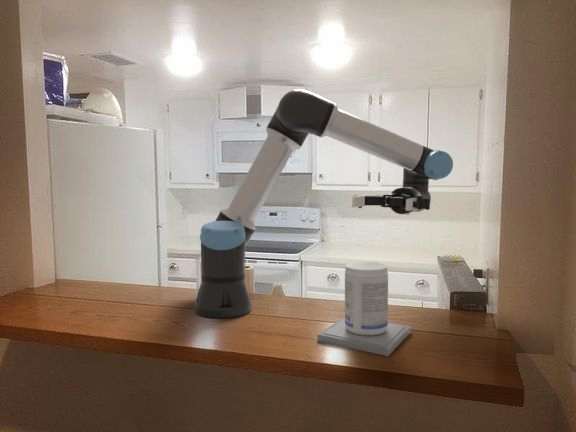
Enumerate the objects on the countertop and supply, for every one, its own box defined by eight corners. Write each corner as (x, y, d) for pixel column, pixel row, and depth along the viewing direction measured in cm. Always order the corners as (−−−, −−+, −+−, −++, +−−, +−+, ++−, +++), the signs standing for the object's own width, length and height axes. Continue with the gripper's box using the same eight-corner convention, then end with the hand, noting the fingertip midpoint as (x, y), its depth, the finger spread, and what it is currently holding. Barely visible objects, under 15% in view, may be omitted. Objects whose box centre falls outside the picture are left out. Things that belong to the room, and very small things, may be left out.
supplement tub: (392, 326, 104) (394, 263, 102) (380, 340, 95) (381, 271, 94) (352, 320, 108) (353, 259, 107) (337, 332, 100) (338, 267, 99)
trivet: (317, 340, 99) (317, 333, 99) (346, 320, 113) (346, 314, 113) (387, 356, 91) (388, 348, 91) (410, 332, 105) (410, 325, 105)
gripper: (450, 216, 122) (430, 222, 104) (363, 210, 135) (332, 215, 117) (451, 188, 121) (432, 190, 103) (364, 185, 134) (333, 186, 116)
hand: (379, 203), depth 110 cm, fingers open, 13 cm apart
